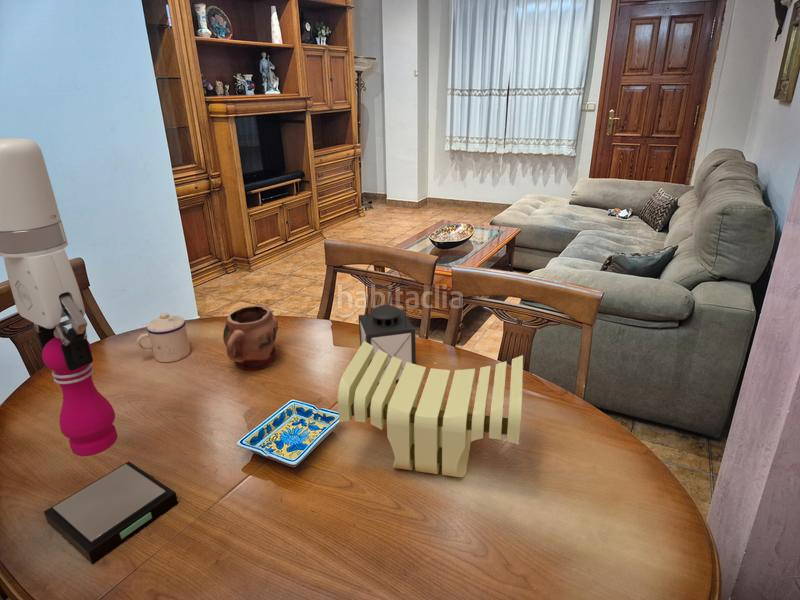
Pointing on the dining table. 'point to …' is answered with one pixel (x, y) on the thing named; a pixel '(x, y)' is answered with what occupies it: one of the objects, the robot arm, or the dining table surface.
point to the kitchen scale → (110, 510)
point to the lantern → (388, 332)
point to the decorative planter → (251, 337)
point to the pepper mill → (80, 404)
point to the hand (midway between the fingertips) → (68, 358)
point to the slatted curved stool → (429, 409)
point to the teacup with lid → (167, 338)
